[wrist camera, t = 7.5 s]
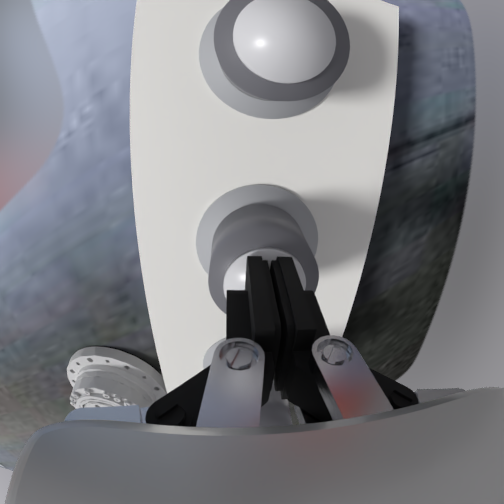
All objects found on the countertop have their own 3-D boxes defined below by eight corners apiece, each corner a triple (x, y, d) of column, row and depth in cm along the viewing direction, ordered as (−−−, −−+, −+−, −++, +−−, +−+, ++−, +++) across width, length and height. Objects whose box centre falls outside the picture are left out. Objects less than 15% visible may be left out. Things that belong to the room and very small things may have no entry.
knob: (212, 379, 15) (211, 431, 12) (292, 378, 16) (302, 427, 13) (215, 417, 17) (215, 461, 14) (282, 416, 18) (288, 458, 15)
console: (154, -2, 11) (138, -21, 8) (373, 17, 12) (400, 5, 9) (171, 365, 23) (167, 396, 20) (314, 365, 24) (322, 394, 21)
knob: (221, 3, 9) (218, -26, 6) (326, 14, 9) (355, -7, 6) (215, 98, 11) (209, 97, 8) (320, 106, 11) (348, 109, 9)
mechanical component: (79, 326, 21) (66, 381, 25) (60, 365, 17) (54, 414, 21) (185, 373, 24) (150, 417, 28) (181, 415, 20) (145, 450, 24)
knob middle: (212, 202, 13) (206, 234, 10) (309, 206, 14) (330, 237, 11) (212, 284, 15) (209, 328, 12) (297, 285, 16) (310, 328, 13)
